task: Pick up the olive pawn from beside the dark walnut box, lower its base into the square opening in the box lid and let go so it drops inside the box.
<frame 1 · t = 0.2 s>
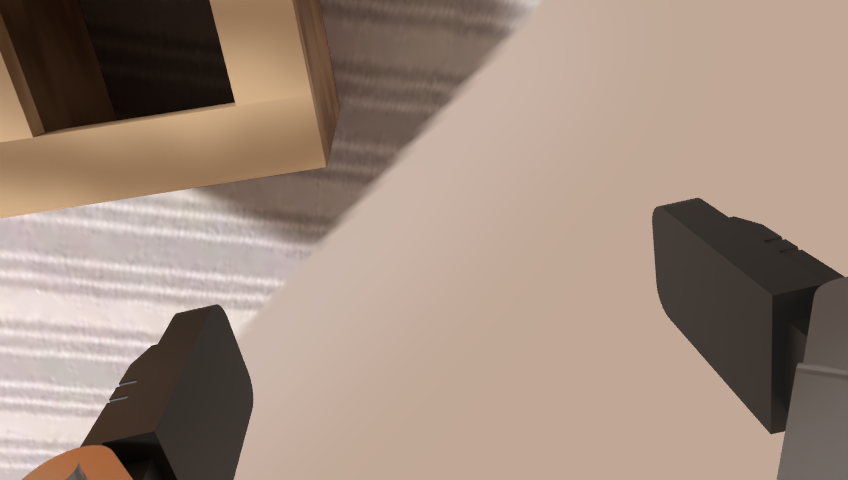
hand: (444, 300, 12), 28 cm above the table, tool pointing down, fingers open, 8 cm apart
walnut box: (191, 3, 36), on the table
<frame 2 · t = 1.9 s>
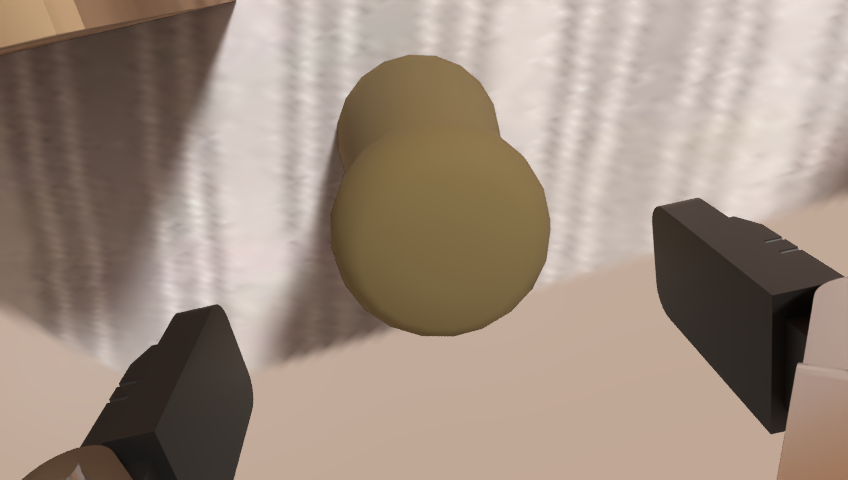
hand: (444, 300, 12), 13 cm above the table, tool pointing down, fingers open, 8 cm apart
olive pawn: (418, 136, 24), on the table
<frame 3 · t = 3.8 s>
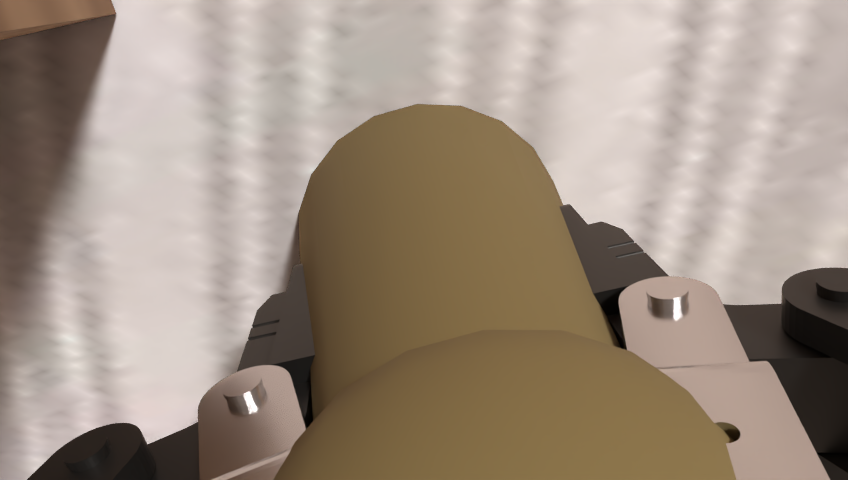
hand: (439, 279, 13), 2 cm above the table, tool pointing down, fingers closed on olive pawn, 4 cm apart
olive pawn: (430, 232, 15), on the table, touching gripper
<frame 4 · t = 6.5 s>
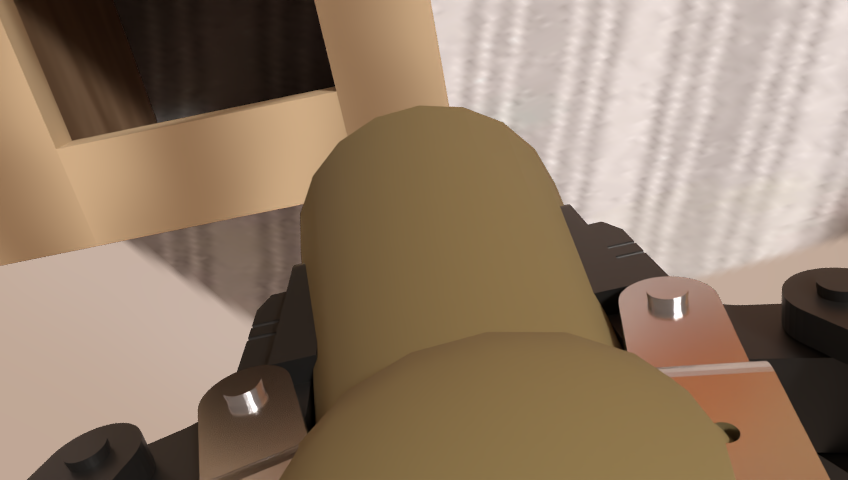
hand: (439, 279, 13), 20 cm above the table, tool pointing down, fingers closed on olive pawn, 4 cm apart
olive pawn: (431, 233, 15), point 17 cm above the table, touching gripper
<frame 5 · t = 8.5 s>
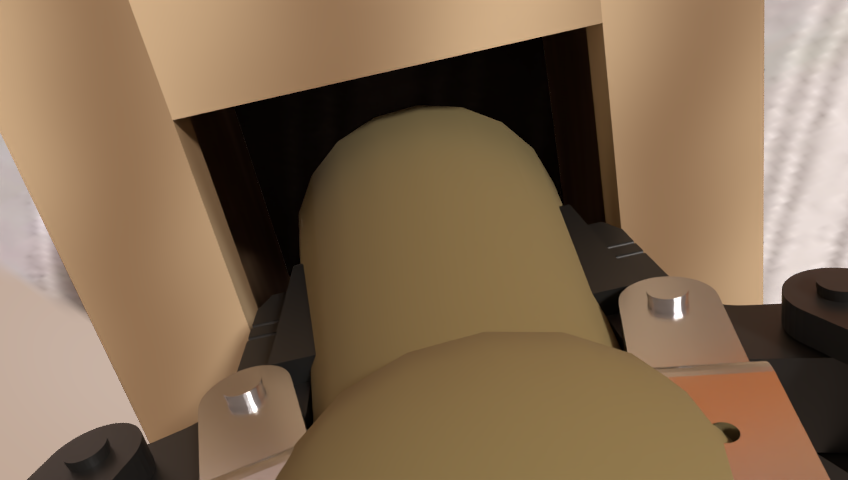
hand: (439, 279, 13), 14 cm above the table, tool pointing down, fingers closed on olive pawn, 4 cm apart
walnut box: (400, 127, 25), on the table
olive pawn: (430, 233, 15), point 11 cm above the table, touching gripper
when the fingers open (14 cm above the table, at t = 9.1 s): olive pawn drops 11 cm, resting in walnut box.
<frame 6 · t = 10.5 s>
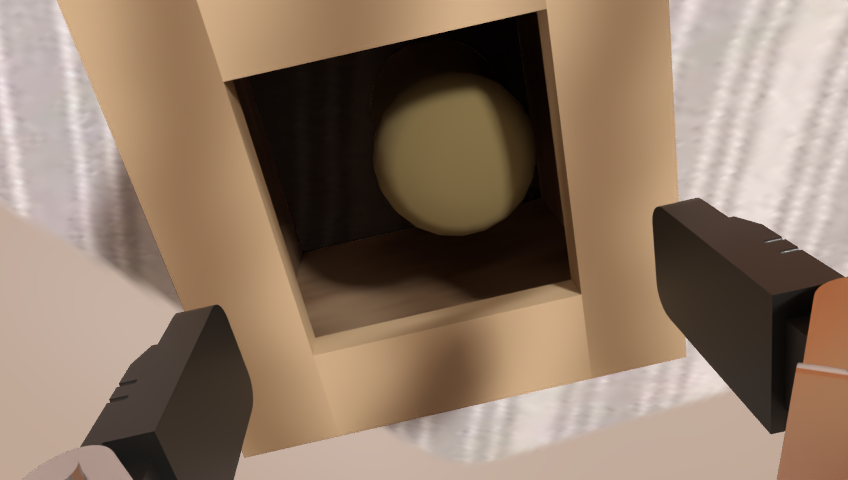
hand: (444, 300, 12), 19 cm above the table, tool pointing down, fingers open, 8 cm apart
walnut box: (395, 105, 29), on the table
olive pawn: (436, 106, 29), resting in walnut box
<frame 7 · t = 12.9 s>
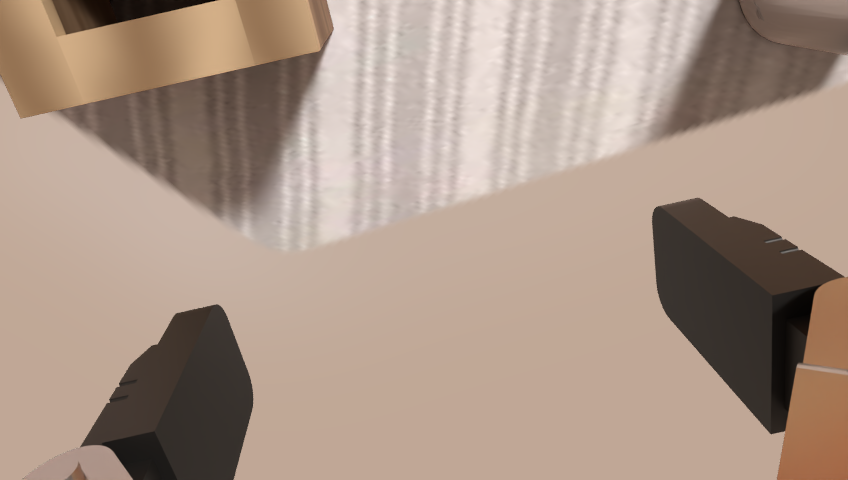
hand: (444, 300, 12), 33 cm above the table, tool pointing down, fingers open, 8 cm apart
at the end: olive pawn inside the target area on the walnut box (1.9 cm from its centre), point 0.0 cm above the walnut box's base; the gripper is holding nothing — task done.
